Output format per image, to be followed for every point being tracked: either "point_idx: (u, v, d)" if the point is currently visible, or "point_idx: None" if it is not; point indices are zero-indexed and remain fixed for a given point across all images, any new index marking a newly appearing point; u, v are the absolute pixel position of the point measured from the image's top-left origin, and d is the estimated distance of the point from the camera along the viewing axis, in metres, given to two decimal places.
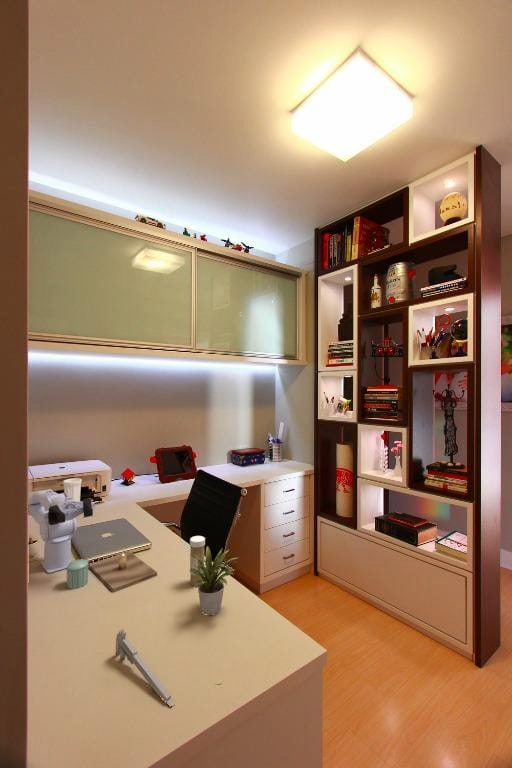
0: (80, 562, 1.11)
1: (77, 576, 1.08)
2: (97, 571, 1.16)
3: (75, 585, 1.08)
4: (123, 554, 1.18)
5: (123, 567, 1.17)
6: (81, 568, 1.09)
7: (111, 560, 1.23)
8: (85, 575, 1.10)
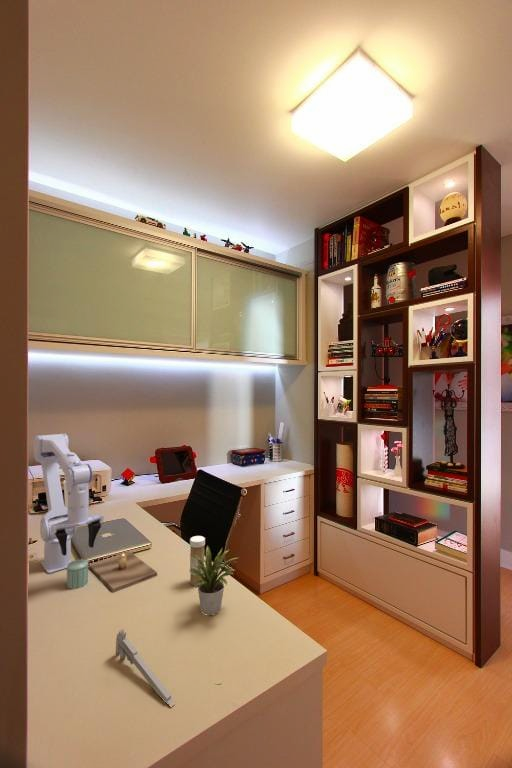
0: (80, 562, 1.11)
1: (77, 576, 1.08)
2: (97, 571, 1.16)
3: (75, 585, 1.08)
4: (123, 554, 1.18)
5: (123, 567, 1.17)
6: (81, 568, 1.09)
7: (111, 560, 1.23)
8: (85, 575, 1.10)
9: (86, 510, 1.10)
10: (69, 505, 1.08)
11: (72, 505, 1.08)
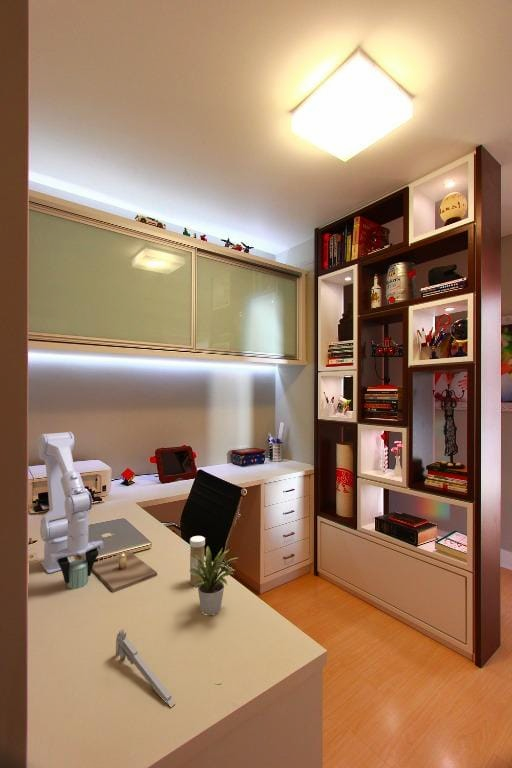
0: (80, 562, 1.11)
1: (77, 576, 1.08)
2: (97, 571, 1.16)
3: (76, 585, 1.08)
4: (123, 554, 1.18)
5: (123, 567, 1.17)
6: (81, 568, 1.09)
7: (111, 560, 1.23)
8: (85, 575, 1.10)
9: (86, 538, 1.10)
10: (69, 534, 1.08)
11: (72, 534, 1.08)
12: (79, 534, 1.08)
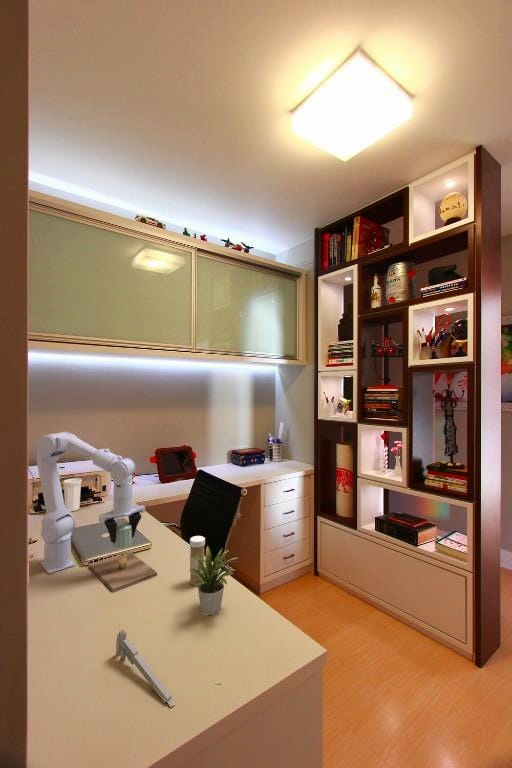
0: (124, 524, 1.19)
1: (123, 536, 1.15)
2: (97, 571, 1.16)
3: (122, 545, 1.15)
4: (123, 554, 1.18)
5: (123, 567, 1.17)
6: (127, 529, 1.16)
7: (111, 560, 1.23)
8: (129, 536, 1.17)
9: (130, 501, 1.18)
10: (120, 497, 1.15)
11: (124, 496, 1.16)
12: (130, 496, 1.17)
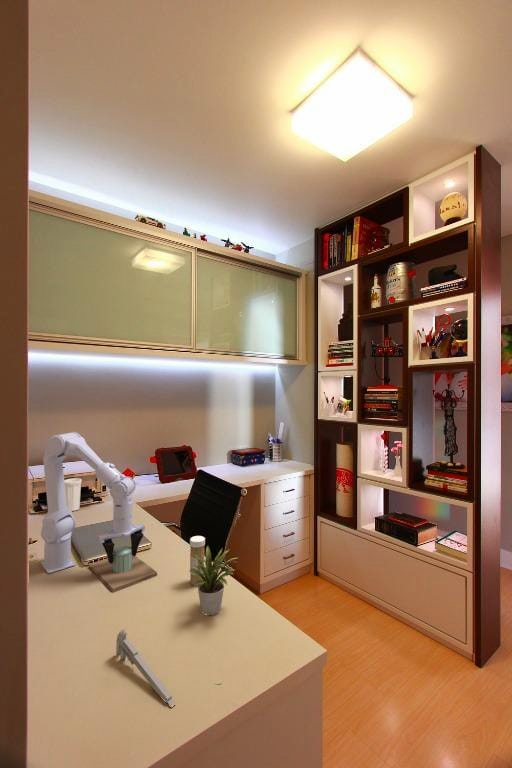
0: (124, 548, 1.19)
1: (123, 561, 1.15)
2: (97, 571, 1.16)
3: (121, 569, 1.15)
4: None
5: None
6: (126, 554, 1.16)
7: None
8: (129, 560, 1.17)
9: (130, 521, 1.17)
10: (120, 517, 1.15)
11: (123, 516, 1.15)
12: (129, 515, 1.17)
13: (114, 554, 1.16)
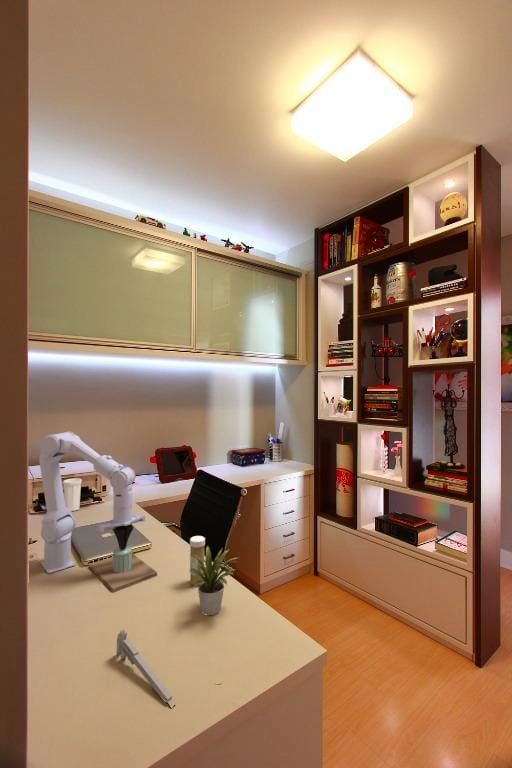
0: None
1: (123, 561, 1.15)
2: (97, 571, 1.16)
3: (121, 569, 1.15)
4: None
5: None
6: (126, 554, 1.16)
7: (111, 560, 1.23)
8: (129, 560, 1.17)
9: (130, 511, 1.17)
10: (120, 506, 1.15)
11: (124, 506, 1.16)
12: (129, 505, 1.17)
13: (114, 554, 1.16)
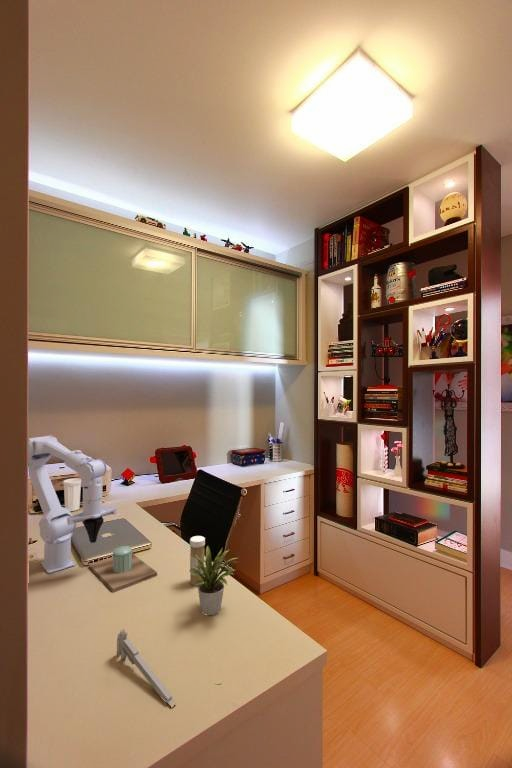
0: (124, 548, 1.19)
1: (123, 561, 1.15)
2: (97, 571, 1.16)
3: (121, 569, 1.15)
4: None
5: None
6: (126, 554, 1.16)
7: (111, 560, 1.23)
8: (129, 560, 1.17)
9: (100, 503, 1.16)
10: (87, 499, 1.13)
11: (91, 498, 1.13)
12: (97, 498, 1.15)
13: (114, 554, 1.16)
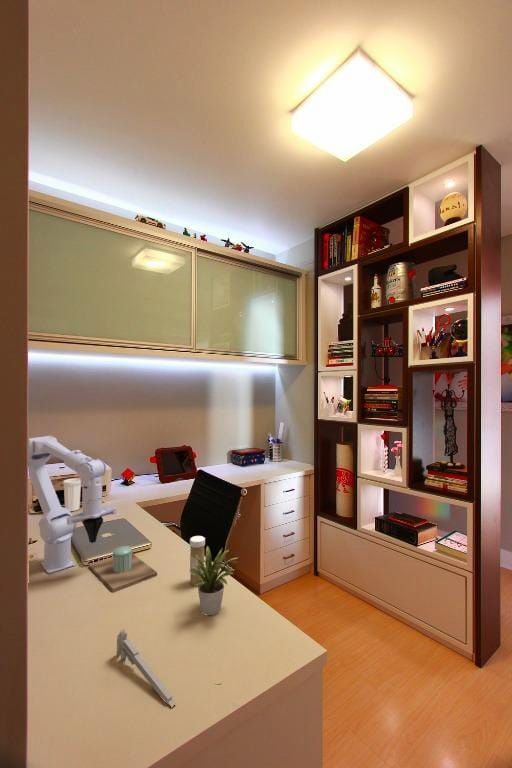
0: (124, 548, 1.19)
1: (123, 561, 1.15)
2: (97, 571, 1.16)
3: (121, 569, 1.15)
4: None
5: None
6: (126, 554, 1.16)
7: (111, 560, 1.23)
8: (129, 560, 1.17)
9: (100, 503, 1.16)
10: (86, 498, 1.13)
11: (90, 498, 1.13)
12: (97, 498, 1.15)
13: (114, 554, 1.16)
